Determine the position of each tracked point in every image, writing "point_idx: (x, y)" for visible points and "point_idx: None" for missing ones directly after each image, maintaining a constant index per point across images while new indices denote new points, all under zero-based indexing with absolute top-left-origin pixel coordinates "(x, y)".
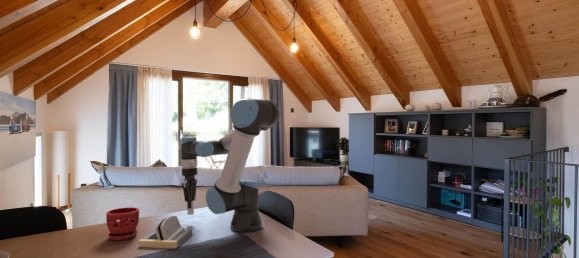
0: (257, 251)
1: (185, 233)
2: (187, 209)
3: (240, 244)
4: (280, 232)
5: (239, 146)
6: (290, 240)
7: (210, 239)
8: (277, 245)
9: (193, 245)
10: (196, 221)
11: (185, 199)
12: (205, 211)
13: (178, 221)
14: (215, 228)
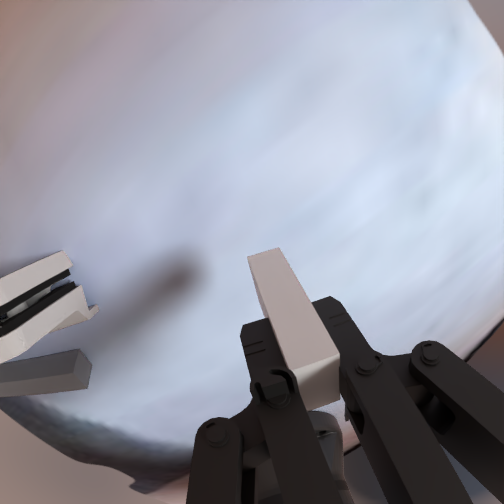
0: (134, 488)
1: (34, 390)
2: (260, 290)
3: (140, 472)
4: None
5: None
6: None
7: (109, 427)
8: (184, 495)
9: (38, 410)
10: (309, 235)
11: (198, 461)
12: (493, 157)
13: (44, 332)
14: (224, 392)
